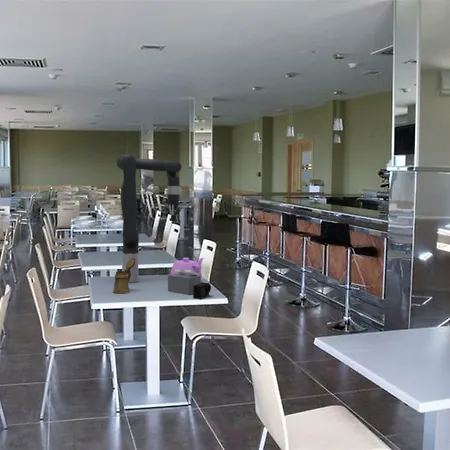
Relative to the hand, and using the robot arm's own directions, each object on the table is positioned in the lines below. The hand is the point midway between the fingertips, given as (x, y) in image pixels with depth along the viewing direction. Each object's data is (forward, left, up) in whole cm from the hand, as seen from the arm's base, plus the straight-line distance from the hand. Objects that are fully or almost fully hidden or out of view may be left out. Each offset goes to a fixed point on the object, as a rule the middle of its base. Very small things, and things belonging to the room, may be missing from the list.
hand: (173, 221), depth 364 cm
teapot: (+3, -20, -35) cm, 41 cm away
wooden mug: (-36, -35, -35) cm, 61 cm away
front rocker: (-1, -46, -25) cm, 52 cm away
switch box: (-4, -43, -35) cm, 56 cm away
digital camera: (+1, -59, -35) cm, 69 cm away
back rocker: (-5, -40, -25) cm, 47 cm away
